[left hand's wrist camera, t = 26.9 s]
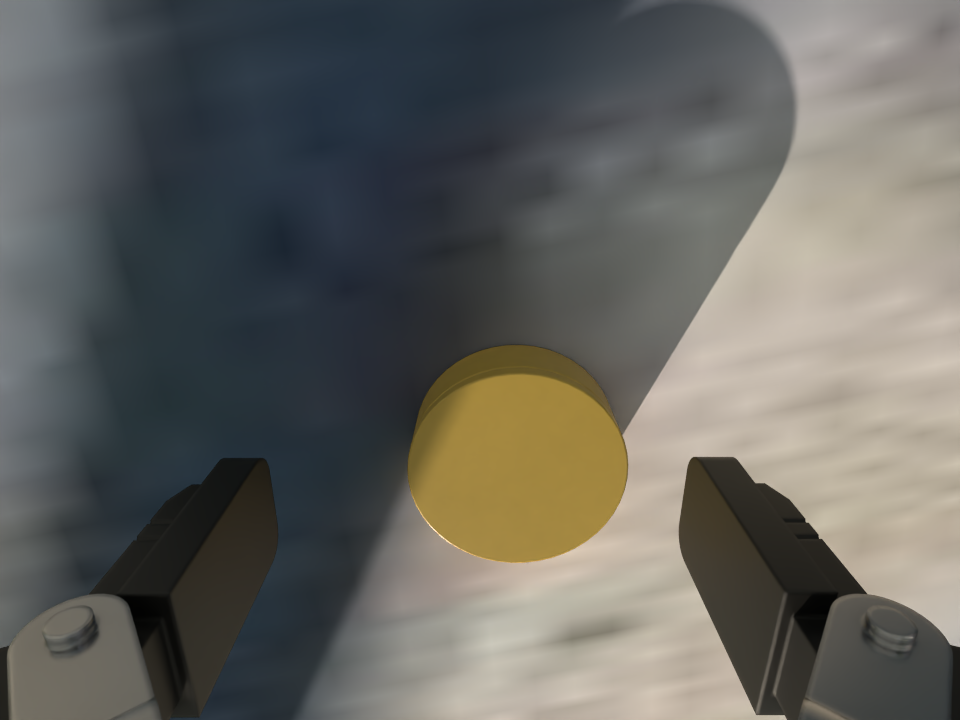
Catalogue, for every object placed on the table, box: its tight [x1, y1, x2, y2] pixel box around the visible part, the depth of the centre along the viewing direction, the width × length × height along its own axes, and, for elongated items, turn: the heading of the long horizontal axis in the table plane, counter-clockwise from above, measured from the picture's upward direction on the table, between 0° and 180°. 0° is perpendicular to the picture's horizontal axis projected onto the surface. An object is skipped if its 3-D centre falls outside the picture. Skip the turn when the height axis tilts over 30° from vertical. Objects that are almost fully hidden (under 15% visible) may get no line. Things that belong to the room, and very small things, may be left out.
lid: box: [407, 345, 628, 563], centre depth 14 cm, size 5×5×2 cm
